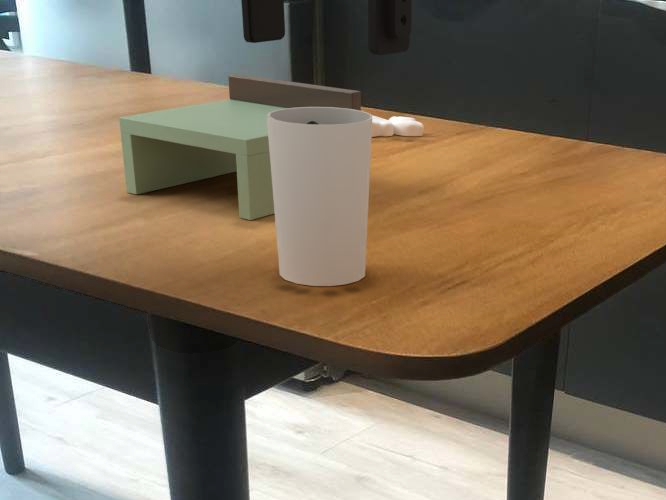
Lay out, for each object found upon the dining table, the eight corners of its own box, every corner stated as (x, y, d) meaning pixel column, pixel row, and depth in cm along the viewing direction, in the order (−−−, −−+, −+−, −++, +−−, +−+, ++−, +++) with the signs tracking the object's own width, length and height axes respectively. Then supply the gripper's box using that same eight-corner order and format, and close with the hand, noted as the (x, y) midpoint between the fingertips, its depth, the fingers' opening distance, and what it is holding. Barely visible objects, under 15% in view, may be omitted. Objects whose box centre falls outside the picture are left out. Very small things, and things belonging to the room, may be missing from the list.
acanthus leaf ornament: (423, 137, 116) (424, 118, 115) (364, 141, 114) (364, 122, 113) (396, 124, 122) (397, 106, 121) (339, 127, 119) (339, 109, 119)
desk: (250, 220, 84) (245, 111, 80) (126, 192, 91) (115, 90, 87) (361, 189, 94) (361, 91, 90) (242, 166, 101) (237, 74, 97)
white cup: (252, 276, 72) (244, 116, 67) (312, 253, 76) (308, 103, 72) (334, 294, 69) (332, 129, 64) (391, 269, 74) (393, 114, 69)
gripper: (147, -302, 59) (178, 41, 67) (406, -334, 50) (404, 64, 59) (242, -284, 64) (260, 32, 73) (491, -310, 55) (478, 52, 64)
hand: (324, 46), depth 66 cm, fingers open, 9 cm apart
